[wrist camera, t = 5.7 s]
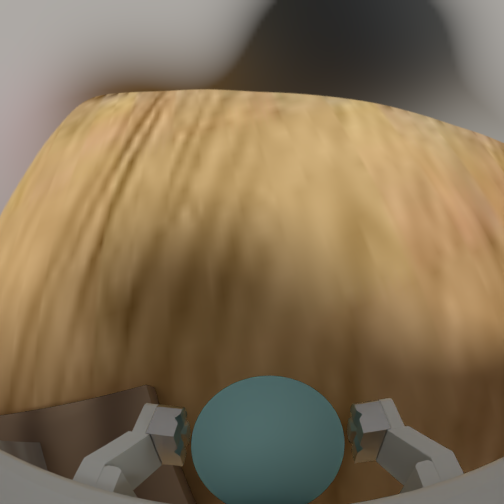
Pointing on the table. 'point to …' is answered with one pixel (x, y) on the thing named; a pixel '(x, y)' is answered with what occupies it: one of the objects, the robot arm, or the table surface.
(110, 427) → the walnut socket board
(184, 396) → the table surface
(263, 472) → the teal rounded oblong piece
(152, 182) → the table surface
